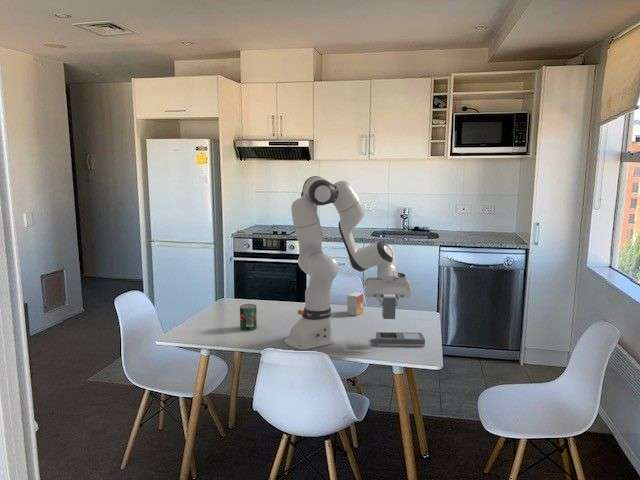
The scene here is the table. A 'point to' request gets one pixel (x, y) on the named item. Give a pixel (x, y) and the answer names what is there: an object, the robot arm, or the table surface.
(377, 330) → the tray
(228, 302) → the table surface
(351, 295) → the small box
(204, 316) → the table surface
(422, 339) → the gray rectangular base
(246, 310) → the canned tomato
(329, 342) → the robot arm
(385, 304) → the plug
